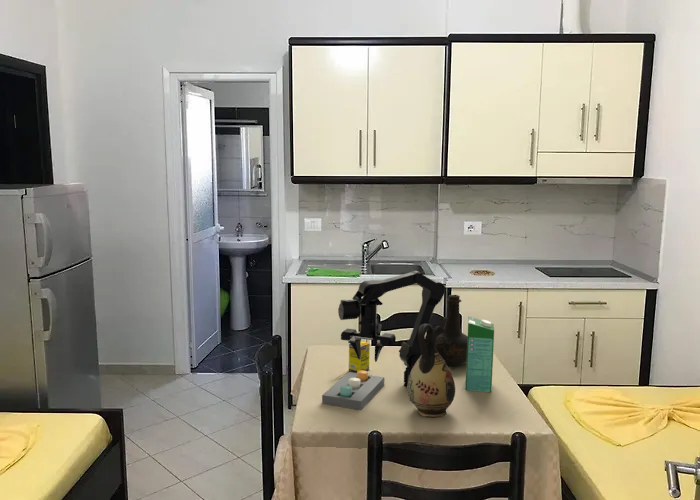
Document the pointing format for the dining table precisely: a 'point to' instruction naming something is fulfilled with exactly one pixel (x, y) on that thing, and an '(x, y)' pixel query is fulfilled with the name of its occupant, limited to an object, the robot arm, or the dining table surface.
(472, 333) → the milk carton
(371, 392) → the console
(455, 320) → the glass bottle
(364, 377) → the orange button
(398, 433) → the dining table surface
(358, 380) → the cream button
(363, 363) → the supplement box
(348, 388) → the teal button
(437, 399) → the ceramic jug
